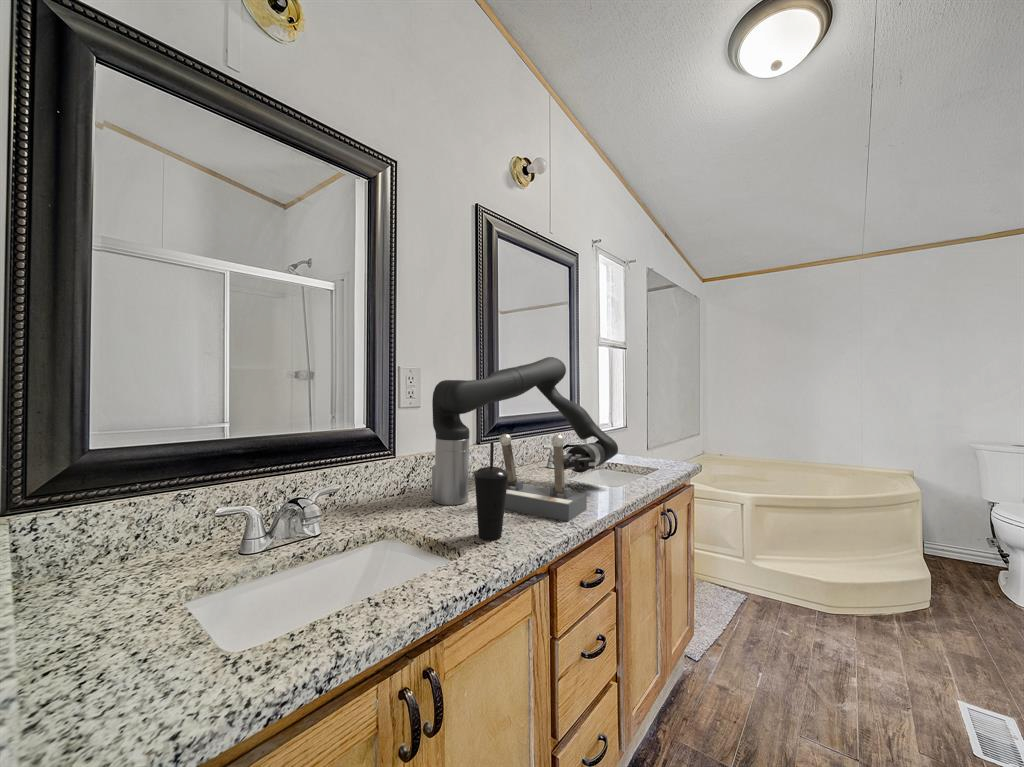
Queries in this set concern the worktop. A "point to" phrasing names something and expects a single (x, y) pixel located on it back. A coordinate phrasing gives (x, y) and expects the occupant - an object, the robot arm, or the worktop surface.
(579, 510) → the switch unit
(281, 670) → the worktop surface
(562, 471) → the lever
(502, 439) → the lever
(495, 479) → the drinking cup
